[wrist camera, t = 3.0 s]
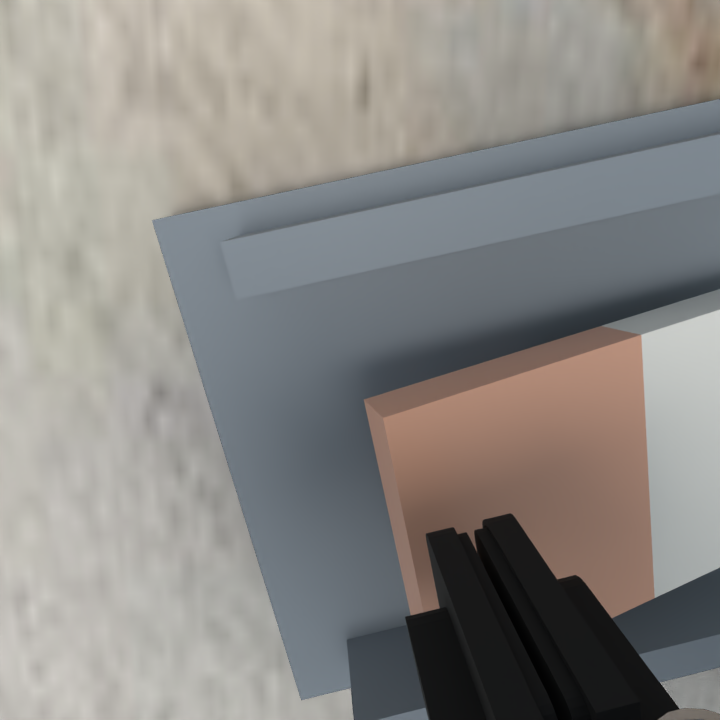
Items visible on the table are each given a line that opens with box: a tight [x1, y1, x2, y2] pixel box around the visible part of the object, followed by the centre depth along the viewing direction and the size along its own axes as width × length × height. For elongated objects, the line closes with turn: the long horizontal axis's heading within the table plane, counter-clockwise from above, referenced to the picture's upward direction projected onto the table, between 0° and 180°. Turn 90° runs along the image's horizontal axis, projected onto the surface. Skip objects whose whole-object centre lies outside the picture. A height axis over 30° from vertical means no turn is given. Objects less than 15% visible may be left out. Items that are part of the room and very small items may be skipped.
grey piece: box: [152, 99, 720, 720], centre depth 15 cm, size 20×16×5 cm
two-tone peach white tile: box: [364, 289, 720, 618], centre depth 13 cm, size 12×7×1 cm, turn 102°
